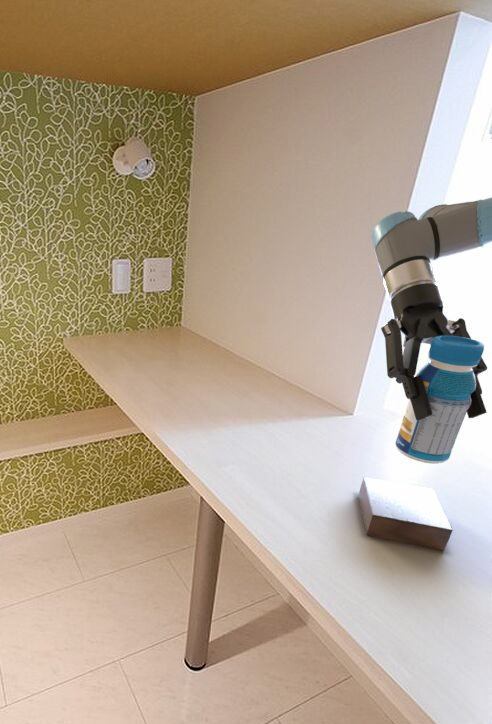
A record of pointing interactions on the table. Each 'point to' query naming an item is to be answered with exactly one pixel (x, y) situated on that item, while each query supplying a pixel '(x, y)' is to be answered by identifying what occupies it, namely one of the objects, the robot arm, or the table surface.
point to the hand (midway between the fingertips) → (451, 416)
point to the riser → (403, 513)
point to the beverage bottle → (441, 399)
